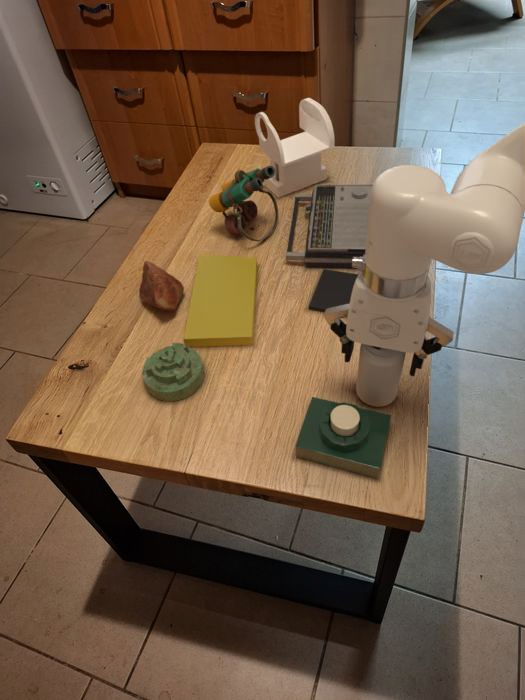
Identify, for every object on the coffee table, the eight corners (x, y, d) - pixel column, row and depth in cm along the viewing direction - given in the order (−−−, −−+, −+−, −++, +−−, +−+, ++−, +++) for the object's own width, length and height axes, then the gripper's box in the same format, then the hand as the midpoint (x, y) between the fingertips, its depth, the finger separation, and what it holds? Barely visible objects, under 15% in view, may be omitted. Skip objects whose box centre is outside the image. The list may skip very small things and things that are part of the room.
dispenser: (389, 425, 73) (393, 407, 69) (378, 478, 67) (381, 461, 64) (312, 407, 76) (311, 388, 72) (295, 456, 71) (294, 439, 67)
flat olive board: (253, 344, 86) (258, 259, 101) (251, 336, 84) (257, 250, 100) (186, 347, 87) (201, 261, 102) (183, 339, 85) (199, 253, 101)
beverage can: (358, 373, 80) (364, 323, 71) (398, 380, 78) (409, 329, 69) (352, 405, 76) (357, 356, 67) (394, 412, 74) (405, 363, 65)
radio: (388, 247, 92) (284, 246, 95) (385, 269, 96) (285, 267, 99) (384, 179, 107) (295, 180, 110) (382, 200, 111) (296, 200, 114)
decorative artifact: (150, 357, 86) (142, 403, 79) (139, 330, 81) (130, 377, 74) (206, 352, 85) (202, 399, 79) (198, 325, 80) (194, 373, 74)
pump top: (361, 416, 69) (362, 408, 67) (355, 440, 67) (356, 432, 65) (334, 409, 70) (334, 401, 68) (327, 432, 68) (327, 425, 66)
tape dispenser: (283, 203, 114) (279, 127, 101) (257, 180, 122) (250, 106, 108) (333, 183, 118) (335, 107, 104) (305, 162, 126) (303, 89, 112)
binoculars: (263, 223, 115) (228, 168, 108) (309, 207, 105) (273, 144, 98) (234, 258, 107) (194, 201, 100) (281, 243, 98) (240, 179, 91)
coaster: (378, 280, 94) (379, 277, 93) (367, 319, 87) (367, 316, 87) (323, 271, 97) (323, 268, 96) (308, 309, 90) (308, 306, 90)
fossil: (176, 313, 88) (144, 266, 84) (141, 330, 91) (109, 285, 87) (197, 288, 98) (171, 245, 95) (166, 304, 102) (139, 263, 98)
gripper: (317, 280, 58) (316, 368, 71) (469, 305, 53) (438, 395, 66) (332, 242, 63) (329, 332, 76) (473, 262, 58) (444, 354, 71)
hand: (380, 361), depth 71 cm, fingers open, 9 cm apart
